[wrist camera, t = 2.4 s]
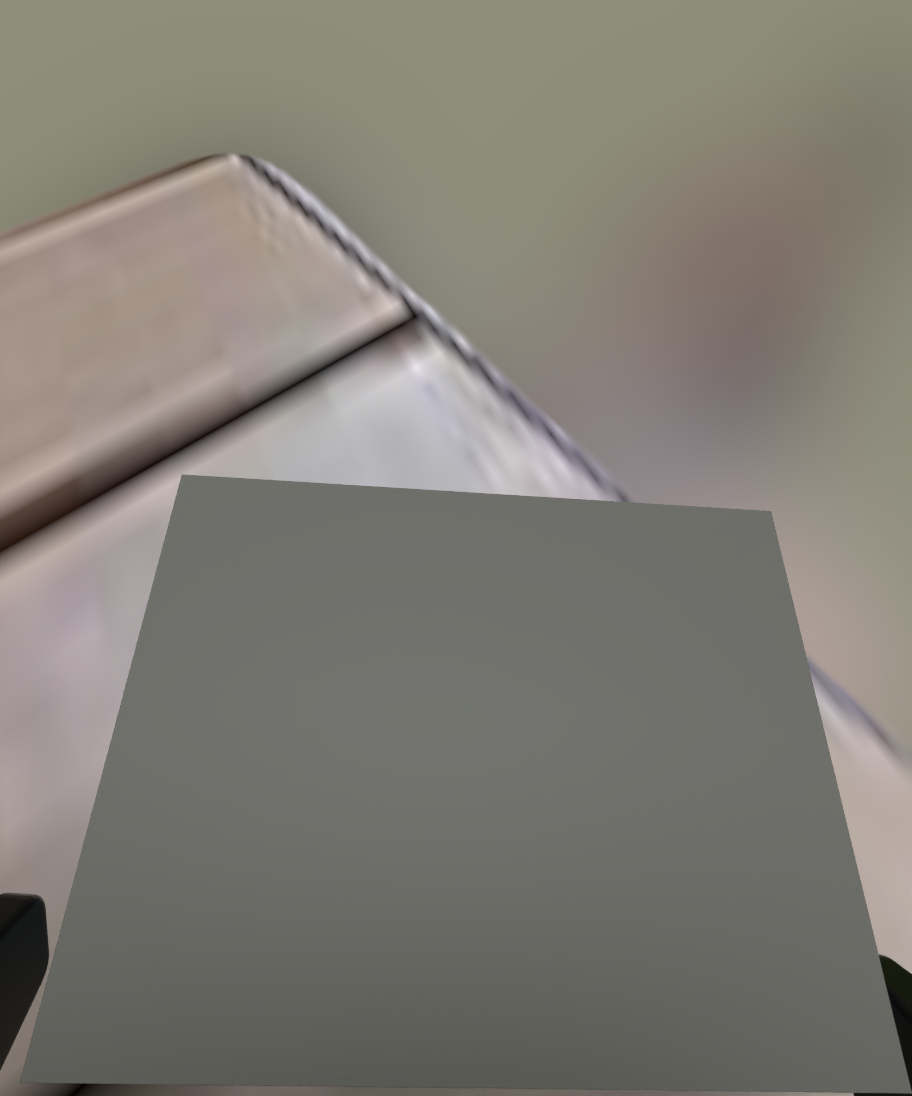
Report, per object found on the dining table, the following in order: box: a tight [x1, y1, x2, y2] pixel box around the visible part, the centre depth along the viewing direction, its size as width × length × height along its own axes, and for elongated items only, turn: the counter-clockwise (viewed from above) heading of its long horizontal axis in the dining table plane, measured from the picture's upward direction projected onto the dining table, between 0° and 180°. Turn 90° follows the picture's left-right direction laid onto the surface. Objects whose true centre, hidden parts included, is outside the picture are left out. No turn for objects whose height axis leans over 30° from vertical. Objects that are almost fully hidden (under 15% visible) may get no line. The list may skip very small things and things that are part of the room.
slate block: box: [20, 475, 912, 1093], centre depth 10 cm, size 5×4×13 cm
